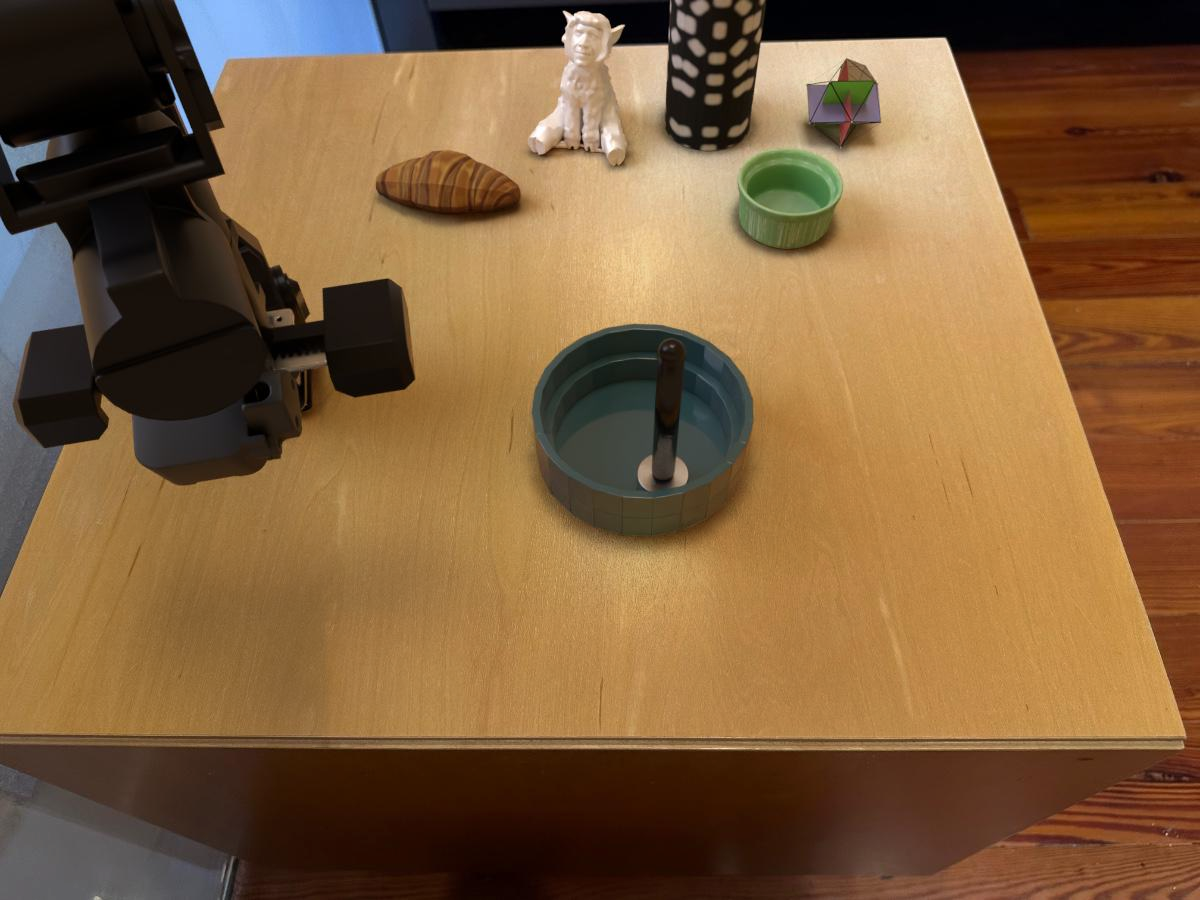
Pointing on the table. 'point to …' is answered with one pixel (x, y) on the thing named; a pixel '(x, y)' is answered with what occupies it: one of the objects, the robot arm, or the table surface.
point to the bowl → (639, 429)
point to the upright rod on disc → (666, 423)
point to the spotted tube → (712, 70)
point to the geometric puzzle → (845, 100)
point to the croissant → (448, 184)
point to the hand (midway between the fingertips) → (274, 453)
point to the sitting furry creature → (585, 93)
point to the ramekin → (788, 197)
